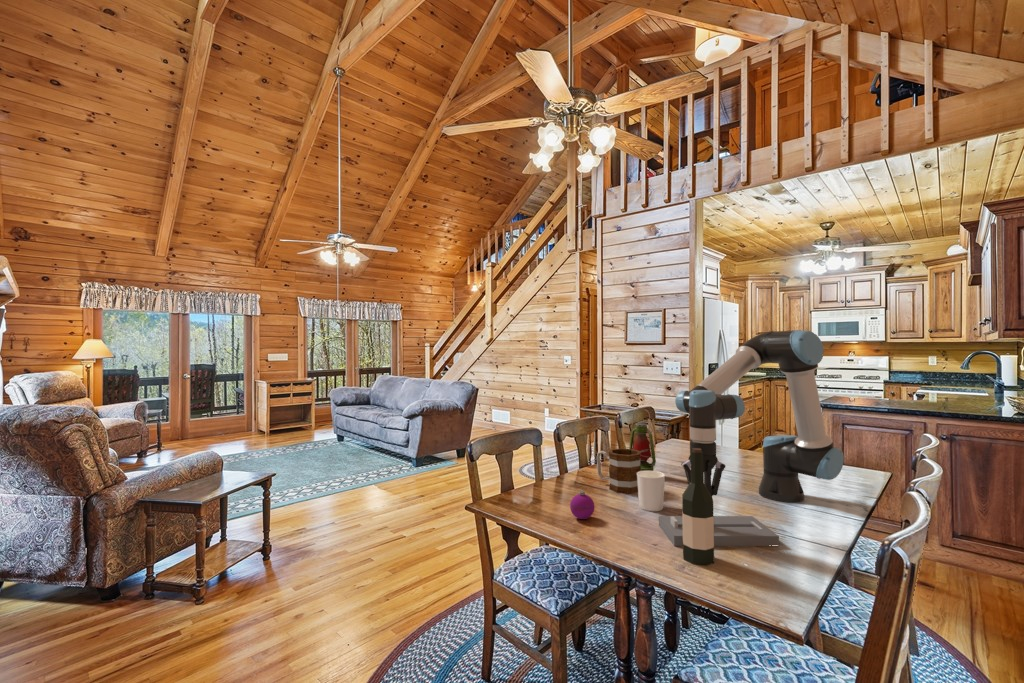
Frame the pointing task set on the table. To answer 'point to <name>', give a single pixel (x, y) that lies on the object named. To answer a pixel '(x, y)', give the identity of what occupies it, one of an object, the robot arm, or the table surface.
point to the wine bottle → (698, 516)
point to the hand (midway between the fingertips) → (703, 517)
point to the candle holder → (651, 490)
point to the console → (724, 531)
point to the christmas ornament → (582, 506)
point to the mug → (622, 469)
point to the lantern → (643, 443)
